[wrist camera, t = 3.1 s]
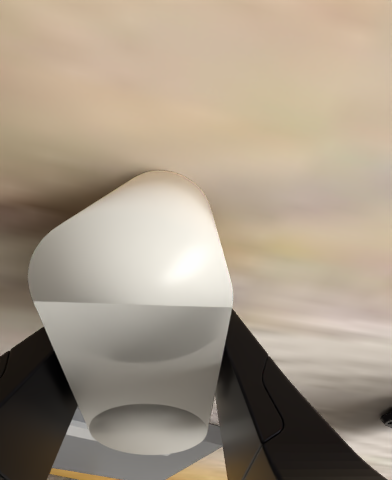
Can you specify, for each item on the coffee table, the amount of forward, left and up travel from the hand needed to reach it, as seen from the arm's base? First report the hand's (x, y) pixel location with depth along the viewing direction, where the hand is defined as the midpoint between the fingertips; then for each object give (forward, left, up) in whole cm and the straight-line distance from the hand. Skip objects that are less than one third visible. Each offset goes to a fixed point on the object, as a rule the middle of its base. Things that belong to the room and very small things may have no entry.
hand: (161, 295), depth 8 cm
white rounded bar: (-1, +1, -1) cm, 2 cm away
